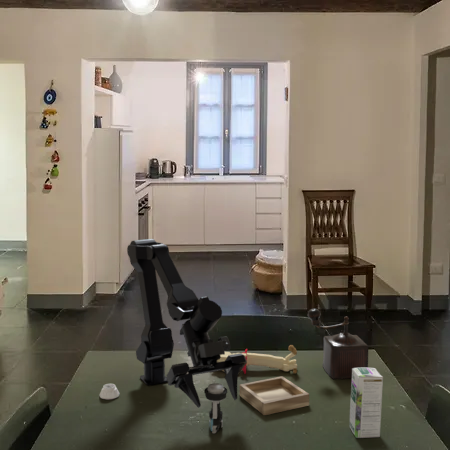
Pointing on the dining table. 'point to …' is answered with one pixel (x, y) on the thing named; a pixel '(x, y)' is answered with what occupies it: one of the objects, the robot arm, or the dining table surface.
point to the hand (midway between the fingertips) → (217, 403)
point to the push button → (215, 404)
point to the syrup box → (366, 402)
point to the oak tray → (274, 395)
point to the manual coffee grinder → (341, 349)
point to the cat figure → (268, 360)
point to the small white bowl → (109, 391)
